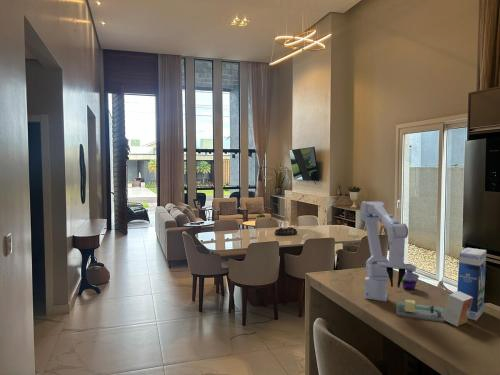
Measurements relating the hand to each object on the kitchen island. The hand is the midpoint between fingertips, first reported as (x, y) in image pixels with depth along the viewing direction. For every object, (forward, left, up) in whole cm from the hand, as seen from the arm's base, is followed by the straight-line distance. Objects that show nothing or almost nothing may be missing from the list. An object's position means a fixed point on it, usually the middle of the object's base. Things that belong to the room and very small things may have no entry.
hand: (395, 286), depth 148 cm
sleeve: (+6, 0, -9) cm, 11 cm away
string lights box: (+29, +10, -11) cm, 32 cm away
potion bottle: (+7, +33, -11) cm, 35 cm away
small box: (+22, -2, -10) cm, 24 cm away
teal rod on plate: (+9, 0, -10) cm, 14 cm away
